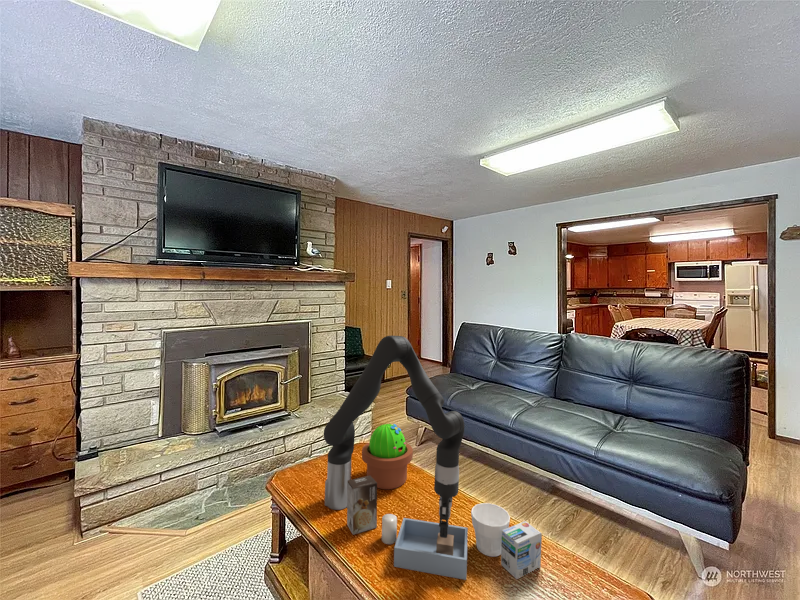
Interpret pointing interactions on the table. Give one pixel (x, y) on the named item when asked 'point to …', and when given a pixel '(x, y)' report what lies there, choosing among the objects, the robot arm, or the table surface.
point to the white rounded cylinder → (389, 529)
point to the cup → (489, 527)
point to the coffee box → (361, 504)
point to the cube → (445, 545)
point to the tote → (430, 549)
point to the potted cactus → (387, 456)
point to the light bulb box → (521, 549)
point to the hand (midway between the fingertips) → (444, 527)
